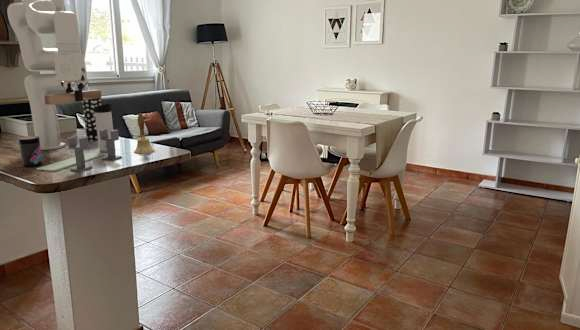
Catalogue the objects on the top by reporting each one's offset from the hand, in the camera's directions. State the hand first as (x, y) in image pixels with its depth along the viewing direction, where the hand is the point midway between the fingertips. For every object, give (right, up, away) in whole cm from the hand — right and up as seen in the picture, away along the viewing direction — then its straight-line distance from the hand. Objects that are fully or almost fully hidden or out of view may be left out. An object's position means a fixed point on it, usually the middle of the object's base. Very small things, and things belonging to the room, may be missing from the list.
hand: (75, 100), depth 159 cm
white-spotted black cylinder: (-15, -11, +51) cm, 54 cm away
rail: (0, 0, 0) cm, 0 cm away
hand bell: (+17, -18, +24) cm, 35 cm away
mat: (-4, -22, +7) cm, 24 cm away
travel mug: (+2, -18, +25) cm, 30 cm away
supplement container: (-17, -24, +3) cm, 29 cm away
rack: (+7, -23, +4) cm, 24 cm away
